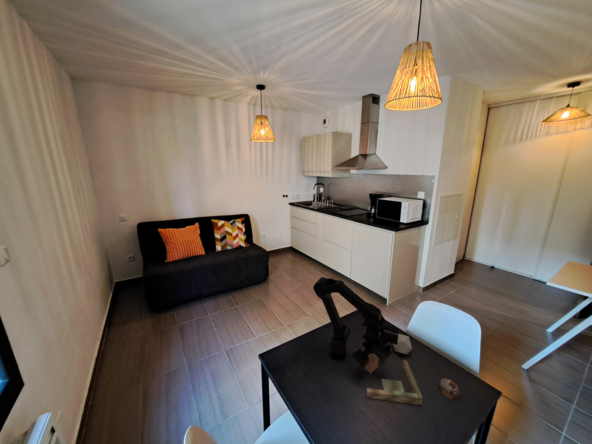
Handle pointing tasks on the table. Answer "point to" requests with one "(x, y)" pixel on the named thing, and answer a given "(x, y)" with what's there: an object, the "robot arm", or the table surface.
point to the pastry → (449, 388)
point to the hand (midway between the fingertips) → (369, 363)
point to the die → (403, 344)
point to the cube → (372, 363)
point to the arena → (398, 389)
